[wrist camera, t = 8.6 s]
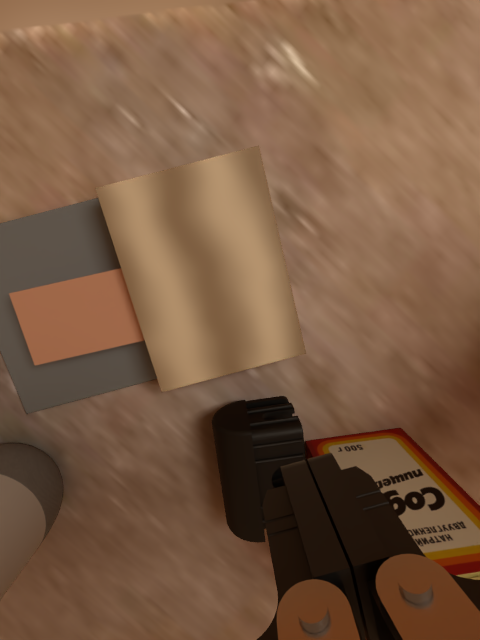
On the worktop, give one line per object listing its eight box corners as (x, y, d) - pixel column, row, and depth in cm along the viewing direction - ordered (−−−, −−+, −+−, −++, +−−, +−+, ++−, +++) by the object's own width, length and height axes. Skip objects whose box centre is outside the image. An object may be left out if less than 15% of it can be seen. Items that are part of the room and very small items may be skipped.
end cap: (211, 400, 34) (211, 438, 28) (286, 389, 35) (303, 424, 28) (225, 494, 36) (228, 549, 30) (296, 483, 37) (314, 535, 30)
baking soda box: (400, 427, 36) (542, 568, 20) (401, 485, 37) (535, 659, 22) (305, 441, 36) (376, 594, 20) (310, 499, 37) (380, 685, 21)
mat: (98, 198, 30) (97, 198, 30) (157, 377, 33) (156, 378, 33) (-46, 236, 30) (-48, 236, 29) (28, 412, 33) (26, 413, 33)
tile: (130, 265, 31) (123, 267, 29) (149, 333, 32) (144, 340, 30) (24, 289, 31) (8, 293, 28) (47, 356, 32) (34, 365, 30)
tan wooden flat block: (253, 158, 30) (258, 145, 26) (295, 340, 34) (306, 353, 30) (110, 195, 30) (95, 188, 26) (167, 374, 33) (161, 392, 29)
